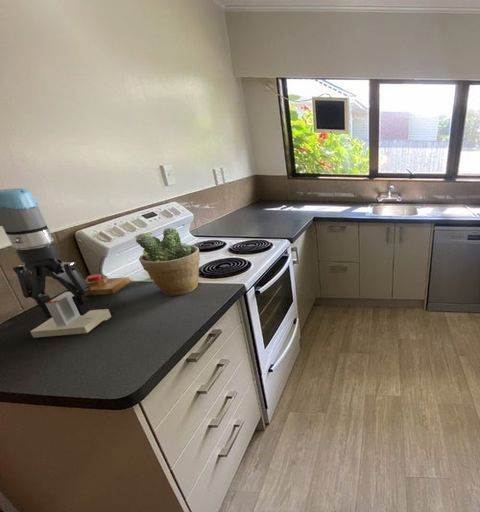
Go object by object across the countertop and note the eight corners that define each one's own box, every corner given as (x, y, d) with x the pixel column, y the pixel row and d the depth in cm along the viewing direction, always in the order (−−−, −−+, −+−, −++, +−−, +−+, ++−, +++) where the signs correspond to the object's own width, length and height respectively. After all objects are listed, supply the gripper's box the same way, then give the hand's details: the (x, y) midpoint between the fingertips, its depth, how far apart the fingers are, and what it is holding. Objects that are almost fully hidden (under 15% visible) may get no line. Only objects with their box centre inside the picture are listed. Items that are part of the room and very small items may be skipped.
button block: (76, 296, 108) (72, 287, 107) (96, 284, 118) (92, 275, 116) (113, 293, 110) (109, 284, 109) (130, 281, 119) (127, 273, 118)
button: (85, 282, 111) (83, 278, 110) (93, 278, 115) (91, 274, 114) (97, 281, 111) (95, 277, 111) (104, 277, 115) (103, 273, 114)
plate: (32, 341, 84) (27, 332, 83) (65, 319, 95) (61, 311, 93) (86, 336, 86) (82, 327, 85) (112, 315, 97) (109, 307, 96)
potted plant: (170, 279, 121) (152, 222, 112) (216, 277, 123) (202, 221, 114) (140, 302, 105) (116, 237, 95) (194, 299, 106) (175, 235, 97)
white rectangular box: (76, 313, 92) (65, 291, 89) (84, 312, 93) (74, 290, 90) (56, 326, 86) (44, 302, 83) (66, 325, 86) (54, 302, 83)
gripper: (-26, 252, 75) (17, 324, 84) (66, 248, 78) (98, 318, 87) (4, 243, 82) (41, 310, 91) (88, 239, 85) (115, 305, 94)
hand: (68, 314), depth 89 cm, fingers open, 8 cm apart
